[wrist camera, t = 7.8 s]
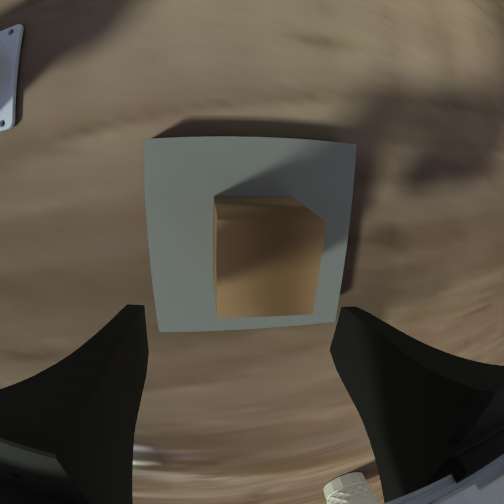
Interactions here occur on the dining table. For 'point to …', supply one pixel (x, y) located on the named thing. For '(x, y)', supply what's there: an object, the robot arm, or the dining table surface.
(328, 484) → the white cup
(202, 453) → the dining table surface
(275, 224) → the walnut cube
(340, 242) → the plinth
